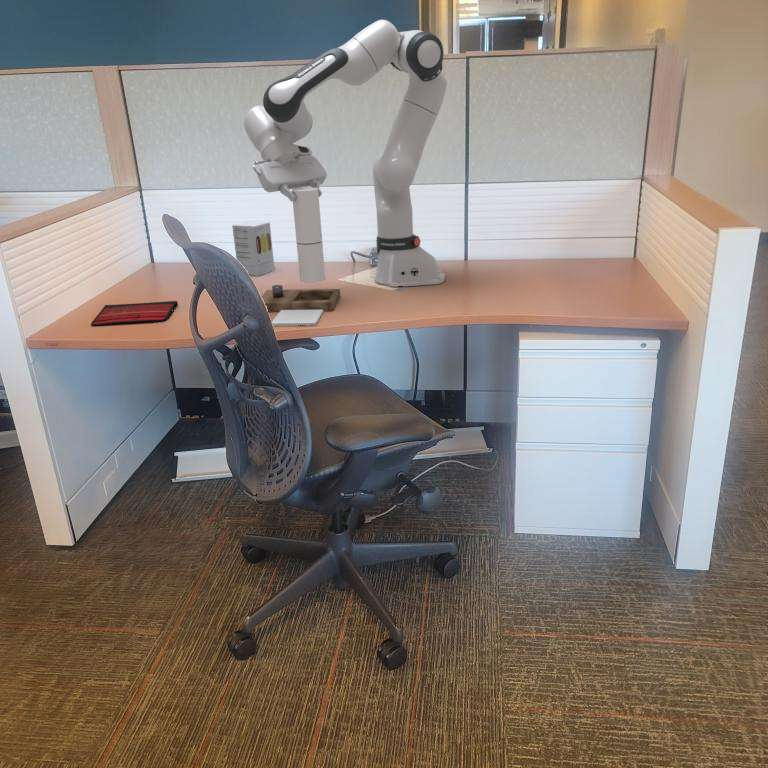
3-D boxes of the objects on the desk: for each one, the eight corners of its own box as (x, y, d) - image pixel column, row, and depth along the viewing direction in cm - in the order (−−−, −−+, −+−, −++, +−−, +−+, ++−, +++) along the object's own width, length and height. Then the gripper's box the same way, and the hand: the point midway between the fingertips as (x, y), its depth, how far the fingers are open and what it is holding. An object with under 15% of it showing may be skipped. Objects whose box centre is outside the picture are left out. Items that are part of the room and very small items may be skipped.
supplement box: (258, 276, 229) (252, 226, 222) (237, 274, 233) (230, 225, 226) (275, 270, 236) (270, 221, 230) (254, 268, 240) (249, 220, 234)
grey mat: (323, 312, 187) (323, 309, 187) (315, 325, 176) (315, 322, 176) (281, 312, 189) (280, 310, 188) (270, 326, 178) (270, 323, 177)
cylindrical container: (327, 276, 195) (320, 187, 185) (322, 282, 189) (315, 190, 179) (303, 276, 196) (294, 187, 186) (297, 282, 190) (288, 191, 180)
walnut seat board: (340, 297, 201) (339, 278, 199) (333, 311, 188) (331, 291, 186) (268, 298, 203) (266, 280, 201) (256, 312, 190) (253, 293, 188)
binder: (104, 304, 198) (177, 299, 199) (106, 311, 199) (178, 307, 200) (87, 323, 183) (166, 318, 185) (89, 331, 185) (167, 326, 186)
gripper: (253, 153, 177) (280, 194, 174) (314, 147, 190) (339, 185, 187) (246, 171, 181) (271, 210, 179) (305, 163, 194) (330, 200, 192)
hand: (307, 197), depth 183 cm, fingers closed on cylindrical container, 7 cm apart
